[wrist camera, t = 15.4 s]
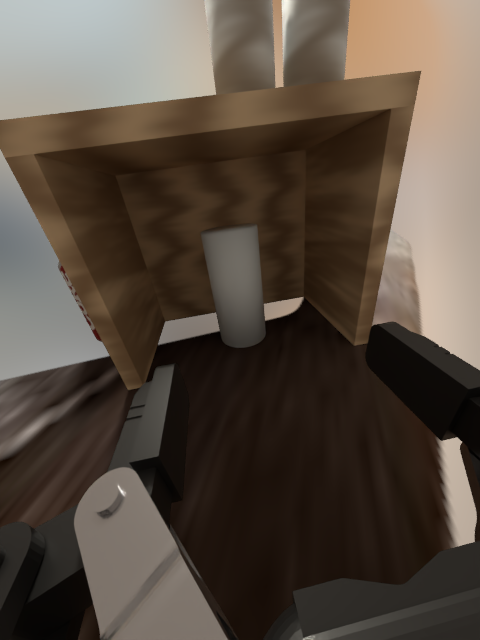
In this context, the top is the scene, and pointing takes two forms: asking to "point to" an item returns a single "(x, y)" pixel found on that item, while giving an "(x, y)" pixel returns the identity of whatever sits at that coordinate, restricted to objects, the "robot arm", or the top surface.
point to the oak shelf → (225, 180)
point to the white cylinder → (236, 282)
